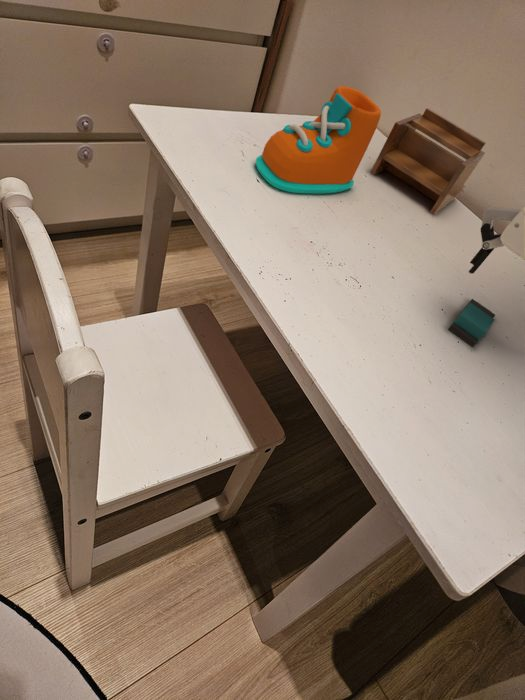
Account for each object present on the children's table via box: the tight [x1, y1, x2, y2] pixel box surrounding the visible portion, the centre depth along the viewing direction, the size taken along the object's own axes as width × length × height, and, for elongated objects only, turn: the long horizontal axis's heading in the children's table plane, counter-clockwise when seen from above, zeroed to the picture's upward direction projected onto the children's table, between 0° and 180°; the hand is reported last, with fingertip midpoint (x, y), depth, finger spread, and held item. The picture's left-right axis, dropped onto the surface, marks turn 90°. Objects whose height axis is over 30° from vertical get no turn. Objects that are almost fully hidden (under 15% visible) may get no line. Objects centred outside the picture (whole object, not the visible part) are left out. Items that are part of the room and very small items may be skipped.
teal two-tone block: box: [447, 298, 496, 348], centre depth 72 cm, size 10×4×3 cm, turn 141°
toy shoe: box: [255, 85, 382, 195], centre depth 82 cm, size 12×20×15 cm, turn 117°
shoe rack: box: [369, 107, 487, 216], centre depth 94 cm, size 16×12×13 cm
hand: (501, 289), depth 67 cm, fingers open, 9 cm apart
